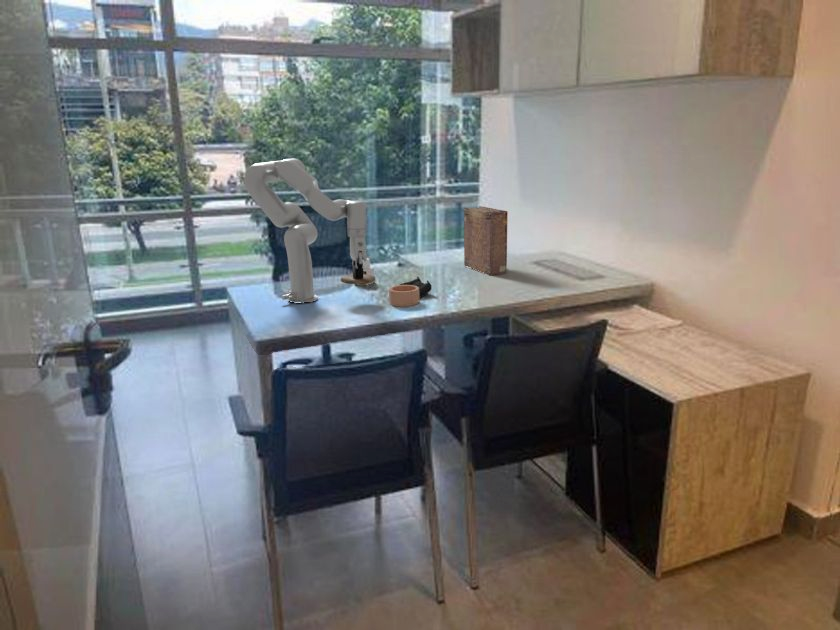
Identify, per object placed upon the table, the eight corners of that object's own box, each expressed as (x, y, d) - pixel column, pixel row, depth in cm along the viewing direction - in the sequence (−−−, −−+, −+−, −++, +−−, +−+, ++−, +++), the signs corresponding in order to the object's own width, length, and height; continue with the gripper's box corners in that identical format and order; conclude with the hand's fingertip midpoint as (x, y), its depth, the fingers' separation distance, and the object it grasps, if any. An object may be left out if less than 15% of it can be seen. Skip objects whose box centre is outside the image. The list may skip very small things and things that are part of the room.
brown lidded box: (464, 266, 320) (463, 207, 312) (479, 264, 324) (479, 206, 316) (490, 275, 298) (490, 212, 290) (506, 273, 302) (507, 211, 294)
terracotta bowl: (405, 308, 248) (404, 293, 246) (383, 303, 256) (383, 289, 254) (425, 301, 257) (424, 287, 255) (403, 297, 264) (403, 283, 263)
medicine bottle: (353, 284, 289) (352, 259, 286) (362, 281, 295) (360, 256, 292) (366, 285, 286) (365, 260, 282) (375, 282, 292) (373, 257, 288)
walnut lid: (357, 285, 247) (356, 271, 245) (333, 280, 255) (333, 266, 254) (382, 279, 257) (382, 266, 255) (358, 274, 266) (358, 261, 264)
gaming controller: (419, 304, 262) (437, 289, 265) (412, 294, 260) (430, 279, 262) (401, 296, 276) (418, 282, 279) (395, 286, 274) (412, 272, 276)
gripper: (371, 235, 244) (372, 280, 249) (361, 228, 259) (362, 271, 264) (352, 236, 242) (353, 282, 247) (343, 229, 257) (344, 273, 262)
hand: (357, 276), depth 256 cm, fingers closed on walnut lid, 4 cm apart
